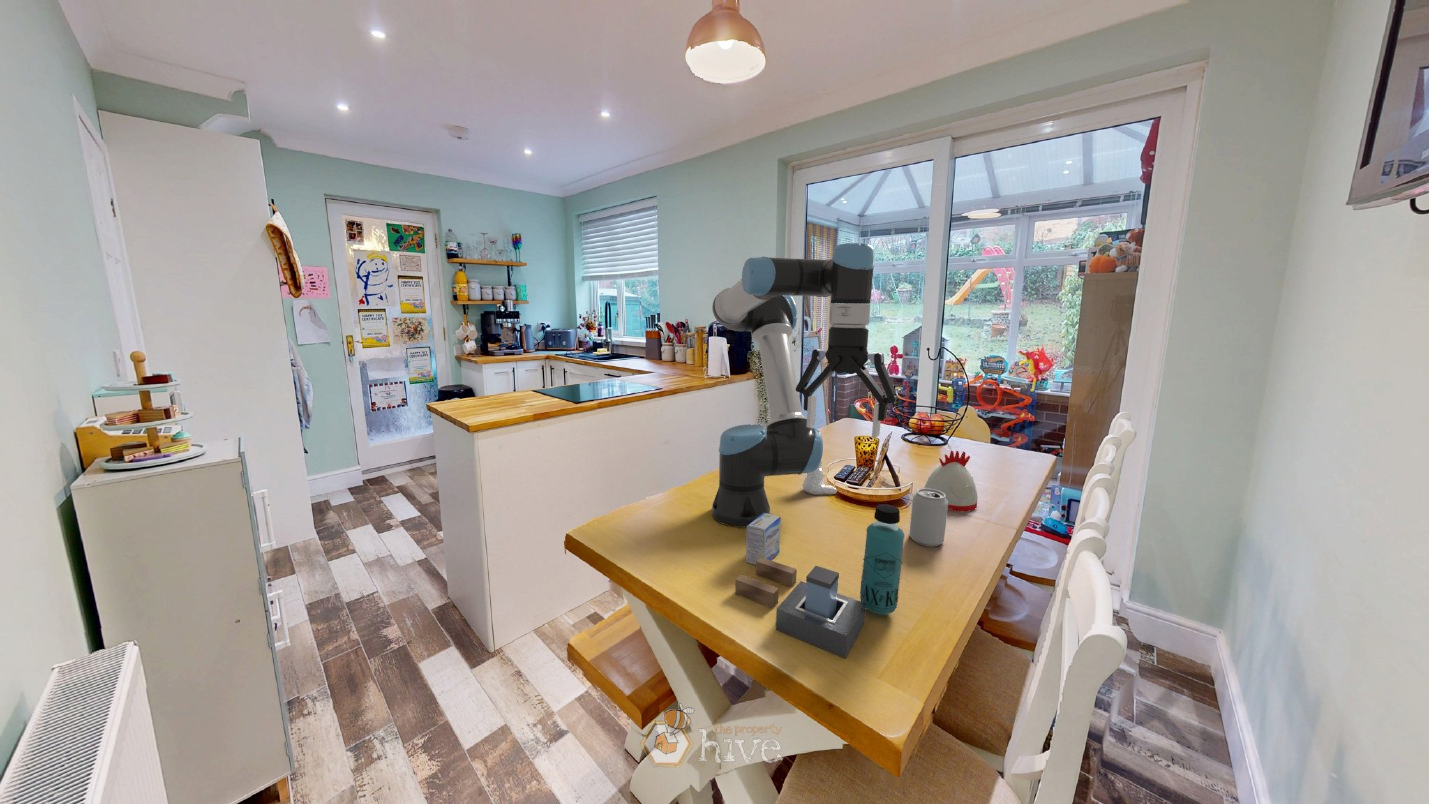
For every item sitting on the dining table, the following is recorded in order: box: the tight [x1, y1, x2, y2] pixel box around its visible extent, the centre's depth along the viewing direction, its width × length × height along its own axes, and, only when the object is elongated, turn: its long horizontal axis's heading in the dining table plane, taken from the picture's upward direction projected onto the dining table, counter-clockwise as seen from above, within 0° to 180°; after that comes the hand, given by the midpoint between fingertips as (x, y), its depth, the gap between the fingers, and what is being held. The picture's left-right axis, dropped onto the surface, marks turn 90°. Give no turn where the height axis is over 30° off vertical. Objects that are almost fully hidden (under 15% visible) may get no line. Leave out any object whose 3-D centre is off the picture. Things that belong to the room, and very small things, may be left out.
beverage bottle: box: [859, 503, 905, 615], centre depth 84 cm, size 6×7×20 cm
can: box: [909, 488, 949, 547], centre depth 112 cm, size 8×8×12 cm
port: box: [775, 580, 867, 659], centre depth 81 cm, size 12×10×4 cm
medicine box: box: [745, 513, 782, 566], centre depth 103 cm, size 8×4×9 cm, turn 148°
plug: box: [805, 565, 840, 620], centre depth 80 cm, size 4×4×10 cm
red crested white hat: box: [924, 450, 979, 512], centre depth 134 cm, size 14×14×15 cm
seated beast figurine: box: [802, 461, 837, 496], centre depth 141 cm, size 10×9×12 cm
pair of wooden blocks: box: [734, 557, 798, 609], centre depth 92 cm, size 8×10×3 cm
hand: (841, 431), depth 98 cm, fingers open, 13 cm apart
